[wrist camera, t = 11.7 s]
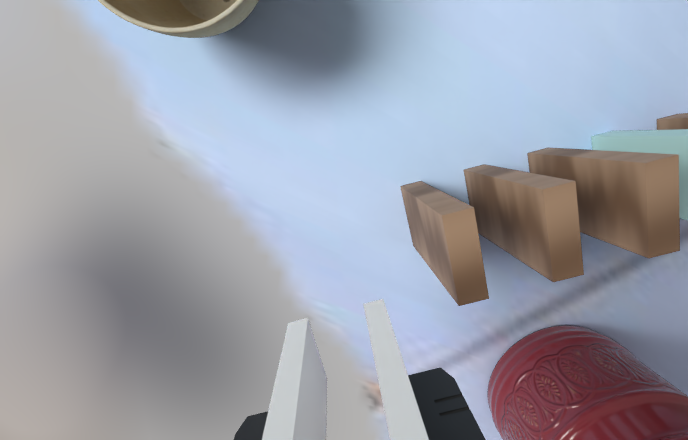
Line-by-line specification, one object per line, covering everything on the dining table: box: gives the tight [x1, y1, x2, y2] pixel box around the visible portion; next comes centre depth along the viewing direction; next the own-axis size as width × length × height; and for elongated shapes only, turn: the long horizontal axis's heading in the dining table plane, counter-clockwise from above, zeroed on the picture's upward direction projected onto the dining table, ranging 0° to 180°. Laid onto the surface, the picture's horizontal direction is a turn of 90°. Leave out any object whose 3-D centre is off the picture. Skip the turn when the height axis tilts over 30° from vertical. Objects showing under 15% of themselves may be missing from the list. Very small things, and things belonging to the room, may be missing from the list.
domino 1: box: [400, 181, 489, 306], centre depth 22 cm, size 5×2×10 cm, turn 14°
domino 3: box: [528, 148, 680, 258], centre depth 22 cm, size 5×2×10 cm, turn 14°
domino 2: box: [464, 165, 584, 282], centre depth 22 cm, size 5×2×10 cm, turn 14°
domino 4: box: [591, 129, 688, 220], centre depth 22 cm, size 5×2×10 cm, turn 14°
